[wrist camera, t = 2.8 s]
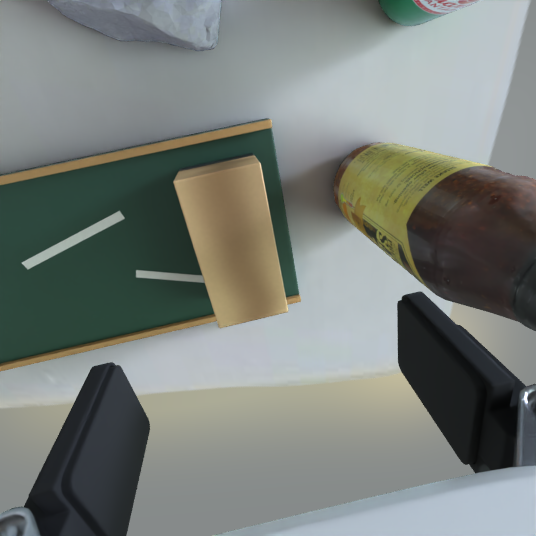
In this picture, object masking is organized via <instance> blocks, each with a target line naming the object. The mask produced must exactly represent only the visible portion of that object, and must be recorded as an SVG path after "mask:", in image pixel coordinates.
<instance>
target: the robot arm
mask: <svg viewBox="0 0 536 536" xmlns="http://www.w3.org/2000/svg"><path fill="white" fill-rule="evenodd" d="M397 310H398V363H399V367H400V369H401V371H402V373H403V375H404V376H405V378H406V379H407V381H408V382H409V384H410V385H411V387H412V388H413V390H414V391H415V393H416V394H417V395H418V397H419V399H420V400H421V402H422V403H423V405H424V406H425V408H426V409H427V411H428V412H429V414H430V415H431V417H432V418H433V420H434V421H435V423H436V424H437V426H438V427H439V429H440V430H441V432H442V433H443V435H444V436H445V438H446V439H447V441H448V442H449V444H450V445H451V447H452V448H453V450H454V451H455V453H456V454H457V456H458V457H459V459H460V460H461V462H462V463H464V464H465V465H467V464H469V465H470V466H471V468H472V469H473V470H474V472H475V474H471V475H466V476H461V477H457V478H452V479H448V480H443V481H439V482H434V483H429V484H425V485H420V486H416V487H412V488H408V489H403V490H399V491H395V492H391V493H387V494H382V495H378V496H374V497H370V498H366V499H361V500H357V501H353V502H349V503H344V504H340V505H336V506H332V507H328V508H324V509H319V510H316V511H311V512H307V513H303V514H299V515H295V516H291V517H286V518H282V519H278V520H274V521H270V522H266V523H262V524H258V525H254V526H250V527H246V528H241V529H237V530H233V531H229V532H225V533H221V534H217V535H213V536H536V384H533V385H530V386H527V387H526V386H525V385H524V384H523V383H522V382H521V381H520V380H519V379H518V378H517V377H516V376H514V374H512V373H511V372H510V371H509V370H508V369H507V368H506V367H505V366H504V365H503V364H502V363H501V362H500V361H499V360H498V359H496V358H495V357H494V356H493V355H492V354H491V353H490V352H489V351H488V350H487V349H486V348H485V347H484V346H483V345H481V344H480V343H479V342H478V341H477V340H476V339H475V338H474V337H473V336H472V335H471V334H470V333H469V332H468V331H467V330H466V329H464V328H463V327H462V326H460V325H456V324H455V323H454V322H453V321H452V320H451V319H450V318H449V317H448V316H447V315H446V314H445V313H444V312H443V311H442V310H441V309H440V308H438V307H437V306H436V305H435V304H434V303H433V302H432V301H431V300H430V299H429V298H428V297H427V296H426V295H425V294H424V293H422V292H416V293H411V294H407V295H404V296H403V297H402V300H400V301H398V304H397ZM149 430H150V424H149V420H148V418H147V416H146V414H145V412H144V410H143V408H142V406H141V404H140V402H139V400H138V398H137V397H136V395H135V393H134V391H133V389H132V387H131V385H130V383H129V381H128V379H127V377H126V376H125V374H124V372H123V370H122V368H121V367H120V366H119V365H117V366H116V365H115V364H114V363H112V362H110V363H106V364H101V365H97V366H94V367H92V369H91V370H90V372H89V374H88V376H87V378H86V380H85V382H84V384H83V386H82V388H81V390H80V392H79V394H78V396H77V398H76V401H75V403H74V405H73V407H72V409H71V411H70V413H69V415H68V417H67V419H66V421H65V423H64V425H63V427H62V429H61V431H60V433H59V435H58V437H57V439H56V441H55V443H54V445H53V447H52V449H51V451H50V454H49V455H48V457H47V459H46V461H45V463H44V465H43V467H42V470H41V472H40V473H39V475H38V478H37V480H36V482H35V484H34V486H33V488H32V490H31V492H30V494H29V497H28V499H27V501H26V503H25V506H24V507H16V508H12V509H10V510H7V511H5V512H3V513H1V514H0V536H126V534H127V530H128V525H129V521H130V516H131V512H132V508H133V503H134V499H135V494H136V490H137V485H138V481H139V476H140V472H141V467H142V462H143V458H144V453H145V449H146V444H147V440H148V436H149Z"/></svg>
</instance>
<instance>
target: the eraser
mask: <svg viewBox="0 0 536 536" xmlns="http://www.w3.org/2000/svg"><path fill="white" fill-rule="evenodd" d="M173 183H174V186H175V190H176V193H177V196H178V199H179V202H180V206H181V209H182V212H183V215H184V218H185V221H186V225H187V228H188V231H189V234H190V237H191V240H192V244H193V247H194V250H195V253H196V256H197V260H198V263H199V266H200V269H201V272H202V275H203V279H204V282H205V285H206V288H207V291H208V295H209V298H210V301H211V304H212V307H213V310H214V314H215V317H216V320H217V323H218V326H219V328H223V327H227V326H231V325H236V324H240V323H244V322H248V321H252V320H257V319H261V318H265V317H269V316H273V315H278V314H282V313H286V312H288V306H287V301H286V295H285V290H284V285H283V280H282V274H281V269H280V264H279V258H278V253H277V248H276V242H275V237H274V232H273V226H272V221H271V216H270V210H269V205H268V200H267V195H266V189H265V184H264V179H263V173H262V168H261V163H260V162H259V161H258V159H257V158H256V157H255V155H254V154H253V153H250V154H245V155H241V156H236V157H232V158H227V159H222V160H218V161H213V162H208V163H204V164H199V165H194V166H190V167H185V168H181V169H179V171H178V173H177V175H176V177H175V179H174V181H173Z"/></svg>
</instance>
